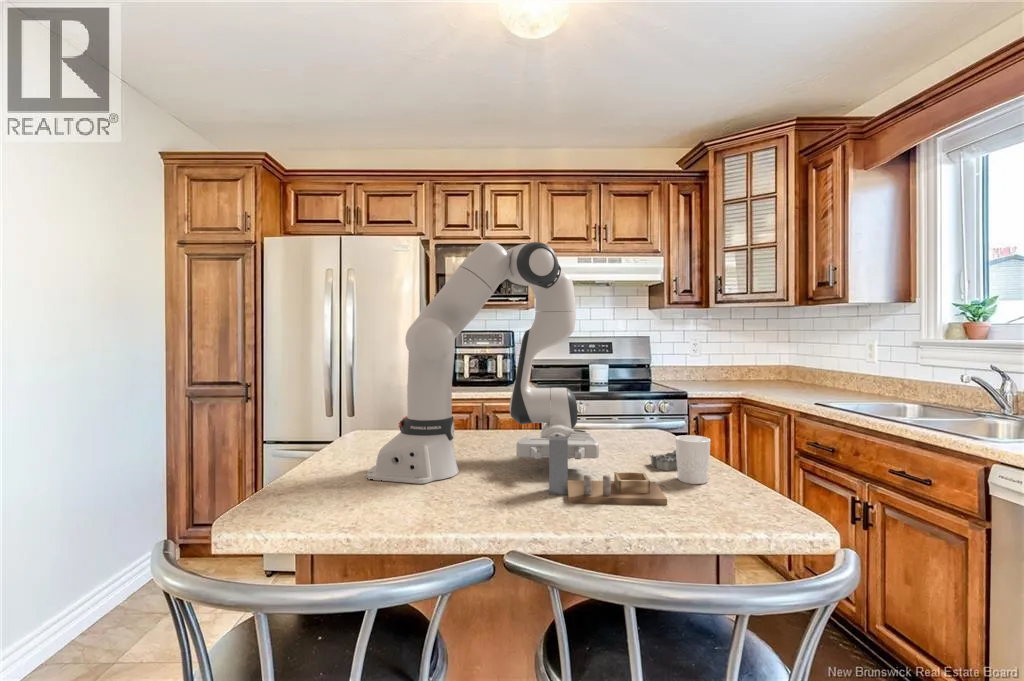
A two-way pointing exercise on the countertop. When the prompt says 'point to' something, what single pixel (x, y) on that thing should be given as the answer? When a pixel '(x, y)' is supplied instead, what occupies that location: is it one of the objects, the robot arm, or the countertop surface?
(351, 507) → the countertop surface
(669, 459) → the egg carton
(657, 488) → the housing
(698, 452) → the white cup
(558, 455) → the grey tall block
